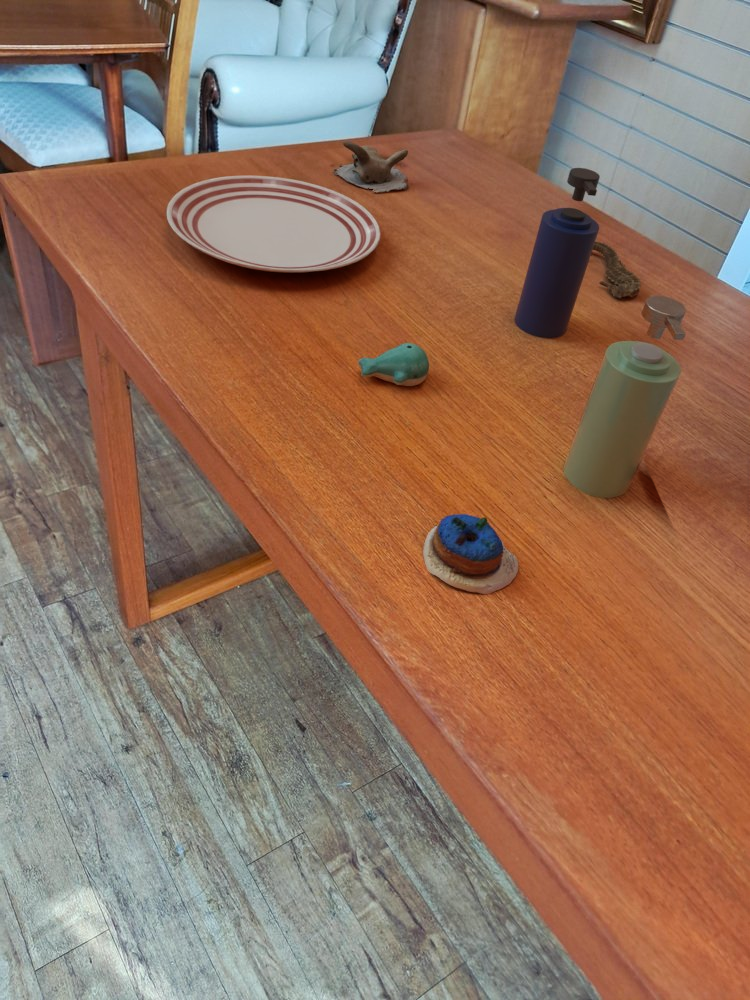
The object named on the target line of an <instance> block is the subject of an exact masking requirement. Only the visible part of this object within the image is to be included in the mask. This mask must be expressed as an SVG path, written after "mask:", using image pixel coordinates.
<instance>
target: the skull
mask: <svg viewBox="0 0 750 1000" xmlns="http://www.w3.org/2000/svg"><path fill="white" fill-rule="evenodd" d="M342 145H343V146H344V147H345V148H346V149H348V150H350V151H351V152H353V153H352V154H351V157H352V159H353V163H348V164H346V165H342V163H340V164H339V165H338V167H337V168H334V170H333V174H334V175H335V176H339V177H341V178H342V179H343V180H344V181H346V182H348V183H350V184H353V185H355V186H358V187H360V188H363V189H365V190H366V189H368V188H369V189H373V190H372V193H375V192H376V193H375V194H379V193H382V192H384V193H385V192H387V193H388V192H390V191H391V190H396V191H398V190H400V191H401V190H402V189H403V190H408V189H409V188H410V187H409V185H408V184H407V182H409V179H408V176H406V175H405V174H403V173H402V172H401V171H400V170H399V169H397V168H396V167H394V166H395V165H397V164H399V162H402V161H403V160H405V158H406V157H408V154H409V150H408V149H401V150H399V151H396V152H395V153H392V155H390V156H388V158H387V159H384V158H383V157H382V156H381V155H380V154H379V153H378V149H376V148H375V147H373V146H372V145H370V146H369V145H368V144H366V145H362V146H361V145H359V144H357V143H355V142H352V141H344V142H342ZM405 181H406V182H405ZM369 189H368V190H369ZM376 189H378V190H376ZM374 190H376V191H374ZM379 190H380V191H379Z"/></svg>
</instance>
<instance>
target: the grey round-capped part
mask: <svg viewBox="0 0 750 1000" xmlns="http://www.w3.org/2000/svg"><path fill="white" fill-rule="evenodd" d="M686 312H687V309H686V307H685V305H684V304H682V303H681V302H680V301H679V300H676V299H674V298H673V297H672V298H671V297H668V296H664V295H651V296H649V297H647V298H646V300H645V303H644V305H643V308H642V310H641V316H642V318H643V319H644V320H645V321H646V322H647V323H649V325H648V326H649V327H648V329H647V331H646V335H647V337H649V338H651V339H654V340H660V339H661V338H662V336H663V334H664V332H665V329H667V331H668V332H669V334H670V336H671V337H672V339H673V340H675V341H676V340H677V341H684V340H685V338H686V336H687V335H686V332H685V330H684V329H683V326H682V325H681V324H682V322H683V320H684V318H685V315H686Z"/></svg>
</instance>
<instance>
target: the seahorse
mask: <svg viewBox="0 0 750 1000" xmlns="http://www.w3.org/2000/svg"><path fill="white" fill-rule="evenodd" d="M592 251H595V252H598V253H599V254H600V255H602V257H603V258H604V261H605V263H606V271H605V275H604V277H606V278H607V280H608V281H610V282H611V283H613V284H611V283H608V282H606V281H604V280H603V281H602V280H601V281H599V282H598V284H599V285H601V286H603V287H605V288H607V292H608V294H612V296H613V299H622V298H625V297H630V298H633V297H635V296H637V294H639V293H640V291H641V289H640V288H641V287H642V283H641V280H640V278H639V277H638V276H637V275H636V274H635V273H632V272H631V271H629V270H627V268H626V265H625V264H623V263H622V261H621V260H620V259H619V257H620V255H619V254H618V253H617V251H616V250H615V249H614V248H613V247H612V246H610V245H608V244H606V243H604V242H600V241H595V243H594V246H593V249H592Z"/></svg>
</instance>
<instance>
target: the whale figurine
mask: <svg viewBox="0 0 750 1000" xmlns="http://www.w3.org/2000/svg"><path fill="white" fill-rule="evenodd" d="M357 364H358V366H359V367H360V369H361V371H360V374H361V376H362V377H364V378H366V379H367V378H371V377H376V378H378V379H380V380H382V381H385V382H388V383H392V384H395V385H397V386H404V387H414V386H418V385H420V384H421V383H423V382H424V381H425V380H426V379H427V376H428V373H429V369H430V361H429V358H428V355H427V353H426V352H425V350H424V349H423V348H422V347H420V346H419V345H417V344H415V343H412V342H405V343H402V344H401V343H400V344H399V345H398V346H397V345H396V346H395V347H393V348H391V349H388V350H386V351H384V352H382V353H381V354H380V355H378V356H376V357H375V358H371V357H362V358H360V359H358V362H357Z"/></svg>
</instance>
